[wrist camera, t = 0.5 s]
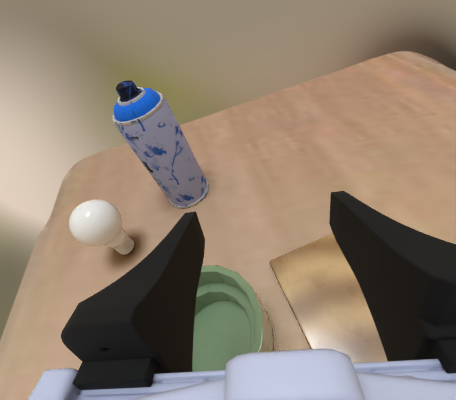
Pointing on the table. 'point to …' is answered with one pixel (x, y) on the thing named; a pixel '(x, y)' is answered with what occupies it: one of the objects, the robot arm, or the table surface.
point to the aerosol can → (159, 144)
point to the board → (329, 300)
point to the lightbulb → (99, 226)
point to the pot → (227, 320)
